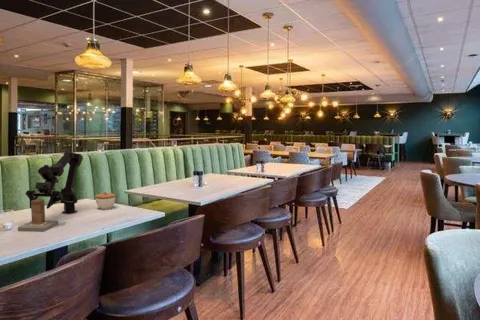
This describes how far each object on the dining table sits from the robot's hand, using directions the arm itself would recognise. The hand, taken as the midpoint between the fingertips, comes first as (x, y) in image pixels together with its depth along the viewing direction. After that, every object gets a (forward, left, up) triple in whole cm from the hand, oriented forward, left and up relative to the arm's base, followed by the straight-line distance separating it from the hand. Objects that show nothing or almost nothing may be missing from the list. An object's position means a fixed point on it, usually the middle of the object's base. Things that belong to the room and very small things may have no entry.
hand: (38, 208), depth 192 cm
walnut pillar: (0, -1, -8) cm, 8 cm away
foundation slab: (0, -1, -11) cm, 11 cm away
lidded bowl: (-5, +49, -11) cm, 50 cm away
